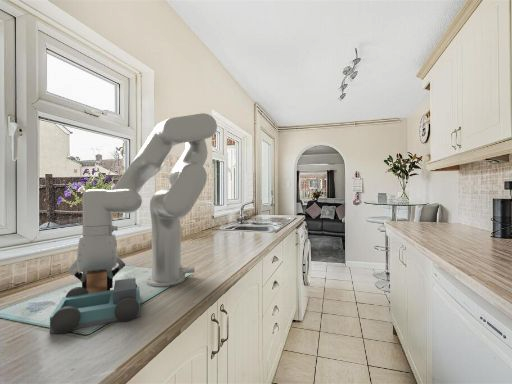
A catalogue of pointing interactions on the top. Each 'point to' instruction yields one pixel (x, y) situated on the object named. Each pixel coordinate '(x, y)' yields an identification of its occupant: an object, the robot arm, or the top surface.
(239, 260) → the top surface
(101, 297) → the chassis
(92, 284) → the orange block with knob
